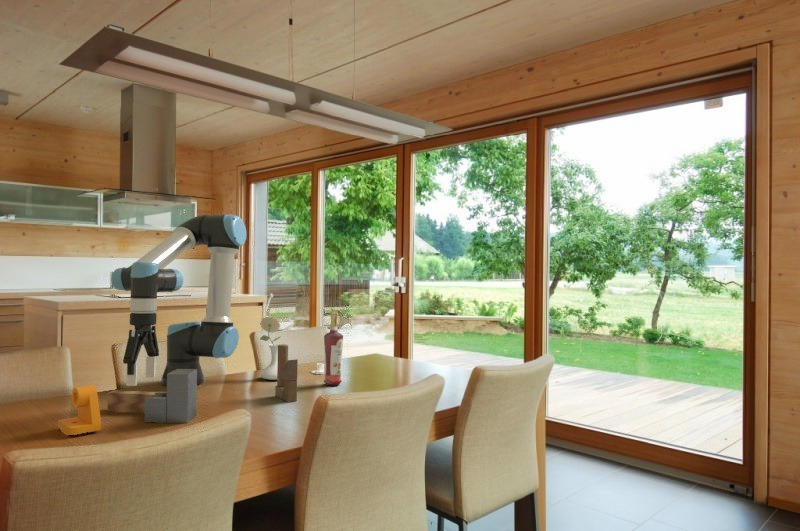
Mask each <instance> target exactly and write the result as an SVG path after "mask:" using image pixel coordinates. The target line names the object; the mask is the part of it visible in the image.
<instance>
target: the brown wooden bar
mask: <svg viewBox="0 0 800 531" xmlns="http://www.w3.org/2000/svg"><path fill="white" fill-rule="evenodd" d="M155 392H156V391H138V390H117V389H116V390H112V391H109V392H107V411H115V412H114V413H126V412H136V413H135V414H145V398H147V397H155Z"/></svg>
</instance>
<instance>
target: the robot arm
mask: <svg viewBox="0 0 800 531" xmlns="http://www.w3.org/2000/svg"><path fill="white" fill-rule="evenodd" d="M246 241H247V228H246V225H245V223H244V220H243V219H242V218H241V217H239V216H238V215H234V214H200V215H197V216H194V217H191V218H190V219H188V220H186V221H184V222H183V223H181V224H179V225H178V226H176V227H175V228H174V229H173V230H172V233H171V234H170V235H169V236H168V237H167V238H165V239H164V240H162V241H161V242H160V243H159V244H157V245H156V246H155V247H153V248H152V249H151V250H149V251H148V252H147V253H145V254H144V255H143V256H141V257H140V258H139V259H137V260H136V261H134V262H133V263H132V264H131V265H130V266H128V267H124V266H123V267H119V268H116V269H114V271H112V273H111V283H112V286H113V288H114V289H116V290H118V291H125V292H128V291H129V292H130V295H129V296H130V301H128V303H129V310H130V313H129V325H131V326H134V329H129V331H128V339H127V343H126V346H125V352H124V355H123V359H122V362H123V364H126V382H125V383H126V386H127V387H131V386H133V387H135V386H138V363H137V360H138V357H139V354H140V352H141V349H142V346H144V349H145V353H146V354H147V356H145V378H156V359H157V358H156V357H159V356H160V349H159V345H158V339H157V338H158V337H157V333H156V332H157V331H156V329H157V328H156V327H157V326H155V325H156V324H157V313H156V311H157V310H158V293H173V292H177V291H179V290H180V289H181V288H182V286H183V284H184V276H183V274H182V272H181V271H179V270H178V269H173V268H166V267H167V266H168V265H170V264H171V263H172V262H173V261H175V260H176V259H177V258H178V257H180V256H181V255H182V254H183V253H184V252H185V251H191V250H192V249H193V248H195V247H197V246H207V248H206V249H207V250H208V251H209V253H210V263H209V275H208V276H209V277H208V287H207V288H208V289H207V296H206V297H207V300H206V308H205V309H206V310H205V311H206V312H205V316H204V318H202V320H201V321H198V320H197V321H196V320H195V321H186V322H178V323H173V324H169V326H168V328H167V332H166V364H165V367H164V370H163V373H162V376H161V385H162V386H165V387H167V374H168V373H170V372H172V371H174V370H176V369H197V386H198V385H200V384H203V383H204V382H205V376H204V372H203V368H202V366H201V363H200V358H201V357H202V358H203V357H204V358H205V357H206V358H215V359H219V358H220V359H221V358H222V359H225V358H226V359H227V358H228V357H230V356H232V355H233V353H234V352H235V350H236V349H237V348H238V347H237V346H238V344H239V338H240V336H239V333H238V332H239V331H238V329H237V328H236V327H235V326H234V321H233V319H231V306H232V295H233V294H232V293H233V292H232V289H233V278H234V267H235V266H234V265H235V256H236V254H237V253H239V252H240V246H243V245H244V244H246Z"/></svg>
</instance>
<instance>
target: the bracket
mask: <svg viewBox="0 0 800 531" xmlns="http://www.w3.org/2000/svg"><path fill="white" fill-rule="evenodd" d="M71 403H72V406H73V407H74V409H78V411H77V415H76V416H74V417H70V418H69V417H67V418H62V419H59V420H57V423H58V424H57V427H58V429H60V430H62V431H63V432H65V433H67V434H70V435H73V436H77V434H78V435H82V433H83V434H87V432H88V433H92V432H97V431H101V430H102V419H101V410H100V404H99V395H98V389H97V387H96V386H95V385H94V384H92V385H86V386H79V387H78V386H77V387H73V388H72V391H71Z"/></svg>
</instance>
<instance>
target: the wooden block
mask: <svg viewBox="0 0 800 531" xmlns="http://www.w3.org/2000/svg"><path fill="white" fill-rule="evenodd" d="M280 344H281V345H278V354H277V361H278V363H277V380H276V385H275V390H274V393H275V394H274V395H275V396H276V397H277V398H279V399H280V400H283V401H284V402H286V403H294V402H297V400H298V365H299V364H298V362H299V361H298V358H297V359H289V344H285V343H284V344H282V343H280Z"/></svg>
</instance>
